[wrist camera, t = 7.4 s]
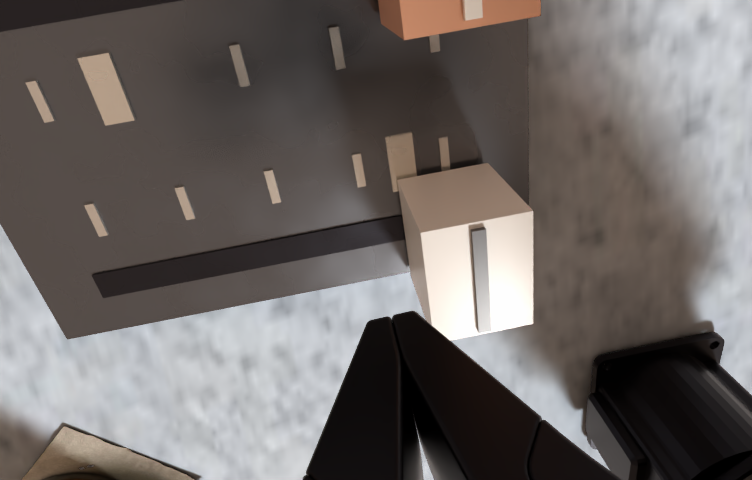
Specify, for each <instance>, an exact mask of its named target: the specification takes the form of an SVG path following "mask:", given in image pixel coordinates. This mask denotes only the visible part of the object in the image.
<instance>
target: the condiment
mask: <svg viewBox="0 0 752 480" xmlns="http://www.w3.org/2000/svg"><path fill="white" fill-rule="evenodd" d="M88 465H94V467H87V466H88ZM80 467H83V468H85V469H83V470H80V469H79V468H80ZM22 480H194V479H192V478H191V477H190V476H188V475H186V474H183V473H181V472H179V471H177V470H174V469H172V468H169V467H166V466H164V465H162V464H161V463H159V462H156V461H154V460H151V459H149V458H146V457H144V456H141V455H138V454H136V453H133V452H131V451H130V449H128V448H121V447H117V446H114V445H111V444H109V443H106V442H104V441H102V440H100V439H98V438H96V437H94V436H90V435H85V434H83V433H80V432H77V431H75V430H72V429H70V428H67V427H65V426H64V427H63V428H62V429H61V431H60V432H59V433H58V434H57V436H56V437H55V438H54V440H53V441H52V442H51V443H50V445H49V446H48V447H47V448H46V450H45V451H44V453H43V454H42V455H41V456H40V458H39V459H38V460H37V461H36V463H35V464H34V465H33V467H32V468H31V469H30V470H29V471H28V473H27V474H26V475H25V476H24V477H23V479H22Z"/></svg>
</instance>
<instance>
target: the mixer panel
mask: <svg viewBox="0 0 752 480" xmlns="http://www.w3.org/2000/svg"><path fill="white" fill-rule="evenodd" d="M484 163H488V164H489V165H490V166H491V167H492V168H493V169H494V170H495V171H496V172H497V173H498V174H499V175H500V176H501V177H502V178H503V179H504V180H505V182H506V183H507V184H508V185H509V186H510V187H511V188H512V189H513V190H514V191H515V192H516V193H517V194H518V195H519V196H520V197H521V198H522V200H523V201H524V202H525V203H526V204H527V205H528V206H529V184H528V18H526V19H520V20H514V21H509V22H503V23H498V24H492V25H487V26H481V27H476V28H470V29H464V30H459V31H453V32H448V33H442V34H437V35H431V36H425V37H420V38H414V39H409V40H403V39H402V38H400V37H399V36H397V35H396V34H395V33H393V32H392V31H390V30H389V29H388V28H386V27H385V26H383V25H382V24H381V19H380V12H379V5H378V0H0V224H1V226H2V227H3V229H4V231H5V233H6V234H7V236H8V238H9V240H10V241H11V243H12V245H13V247H14V248H15V250H16V252H17V253H18V255H19V257H20V259H21V260H22V262H23V264H24V266H25V267H26V269H27V271H28V272H29V274H30V276H31V278H32V279H33V281H34V283H35V285H36V286H37V288H38V290H39V291H40V293H41V295H42V297H43V298H44V300H45V302H46V304H47V305H48V307H49V309H50V310H51V312H52V314H53V316H54V317H55V319H56V321H57V323H58V324H59V326H60V328H61V329H62V331H63V333H64V335H65V336H66V338H67V339H72V338H77V337H82V336H87V335H92V334H97V333H102V332H107V331H112V330H117V329H123V328H128V327H133V326H138V325H143V324H148V323H153V322H158V321H163V320H168V319H173V318H178V317H184V316H189V315H194V314H199V313H204V312H209V311H214V310H219V309H224V308H229V307H234V306H239V305H245V304H250V303H255V302H260V301H265V300H270V299H275V298H280V297H285V296H290V295H295V294H300V293H306V292H311V291H316V290H321V289H326V288H331V287H336V286H341V285H346V284H351V283H356V282H361V281H367V280H372V279H377V278H382V277H387V276H392V275H397V274H402V273H407V272H410V266H409V259H408V252H407V245H406V238H405V231H404V224H403V217H402V210H401V202H400V195H399V188H398V181H397V180H400V179H405V178H410V177H415V176H421V175H426V174H431V173H436V172H442V171H447V170H452V169H458V168H463V167H468V166H473V165H479V164H484Z"/></svg>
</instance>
